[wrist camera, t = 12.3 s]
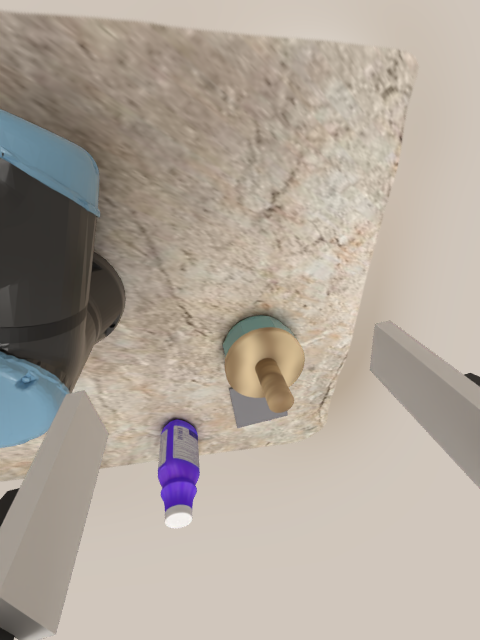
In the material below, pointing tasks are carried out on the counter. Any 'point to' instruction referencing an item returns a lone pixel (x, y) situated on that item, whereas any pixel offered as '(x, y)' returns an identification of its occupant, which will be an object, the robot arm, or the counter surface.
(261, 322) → the bowl
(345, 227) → the counter surface
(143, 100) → the counter surface
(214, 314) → the counter surface
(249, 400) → the mat
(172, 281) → the counter surface
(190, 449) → the bottle
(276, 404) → the lid
